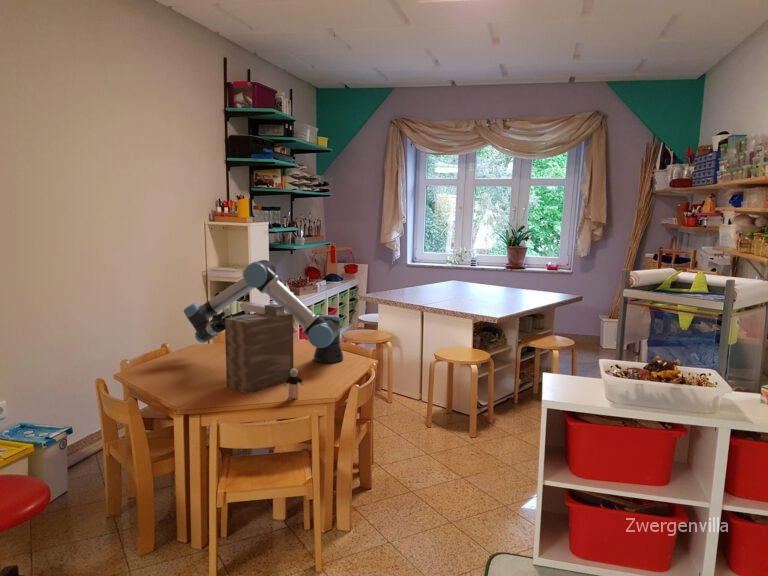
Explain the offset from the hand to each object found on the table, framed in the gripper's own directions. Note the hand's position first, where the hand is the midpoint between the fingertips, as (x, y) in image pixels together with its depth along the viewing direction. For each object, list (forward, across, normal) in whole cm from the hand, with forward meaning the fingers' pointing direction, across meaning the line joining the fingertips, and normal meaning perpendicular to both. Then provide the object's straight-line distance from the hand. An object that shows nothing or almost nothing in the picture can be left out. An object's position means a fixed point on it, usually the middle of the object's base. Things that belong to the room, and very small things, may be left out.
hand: (241, 308), depth 258 cm
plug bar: (+12, 0, -7) cm, 14 cm away
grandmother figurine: (+24, +11, -49) cm, 56 cm away
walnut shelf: (+2, +6, -36) cm, 37 cm away
